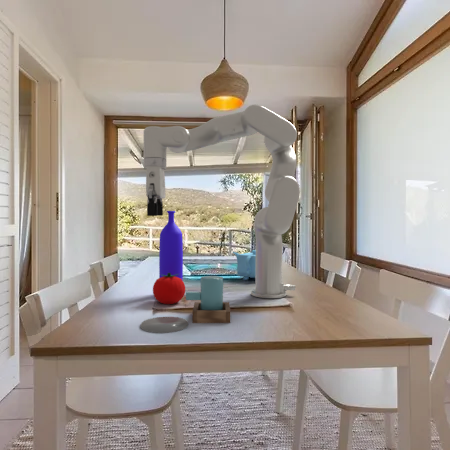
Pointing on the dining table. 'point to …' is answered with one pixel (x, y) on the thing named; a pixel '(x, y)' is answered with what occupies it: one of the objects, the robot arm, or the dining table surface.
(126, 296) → the dining table surface
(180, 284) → the tomato
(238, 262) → the light blue cushion
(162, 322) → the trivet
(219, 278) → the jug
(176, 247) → the bottle
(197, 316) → the cradle
